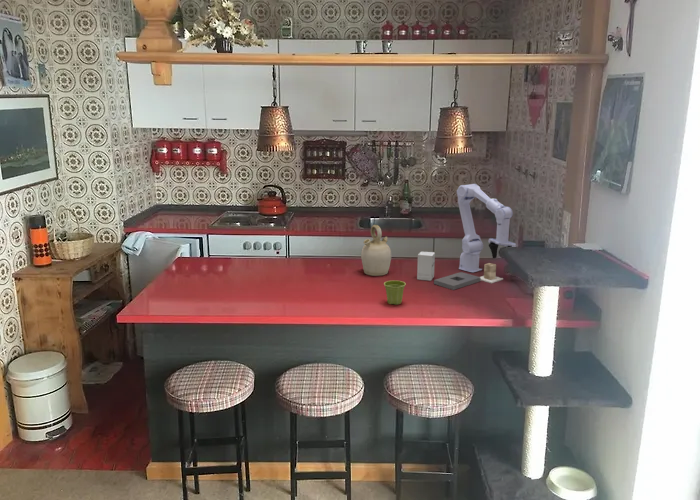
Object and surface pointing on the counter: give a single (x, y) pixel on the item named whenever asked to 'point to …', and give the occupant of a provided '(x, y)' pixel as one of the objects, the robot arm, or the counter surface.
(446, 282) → the grey flat block
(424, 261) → the supplement box
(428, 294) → the counter surface
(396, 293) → the plant pot
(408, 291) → the counter surface
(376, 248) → the jug
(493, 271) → the plug
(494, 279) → the mat
